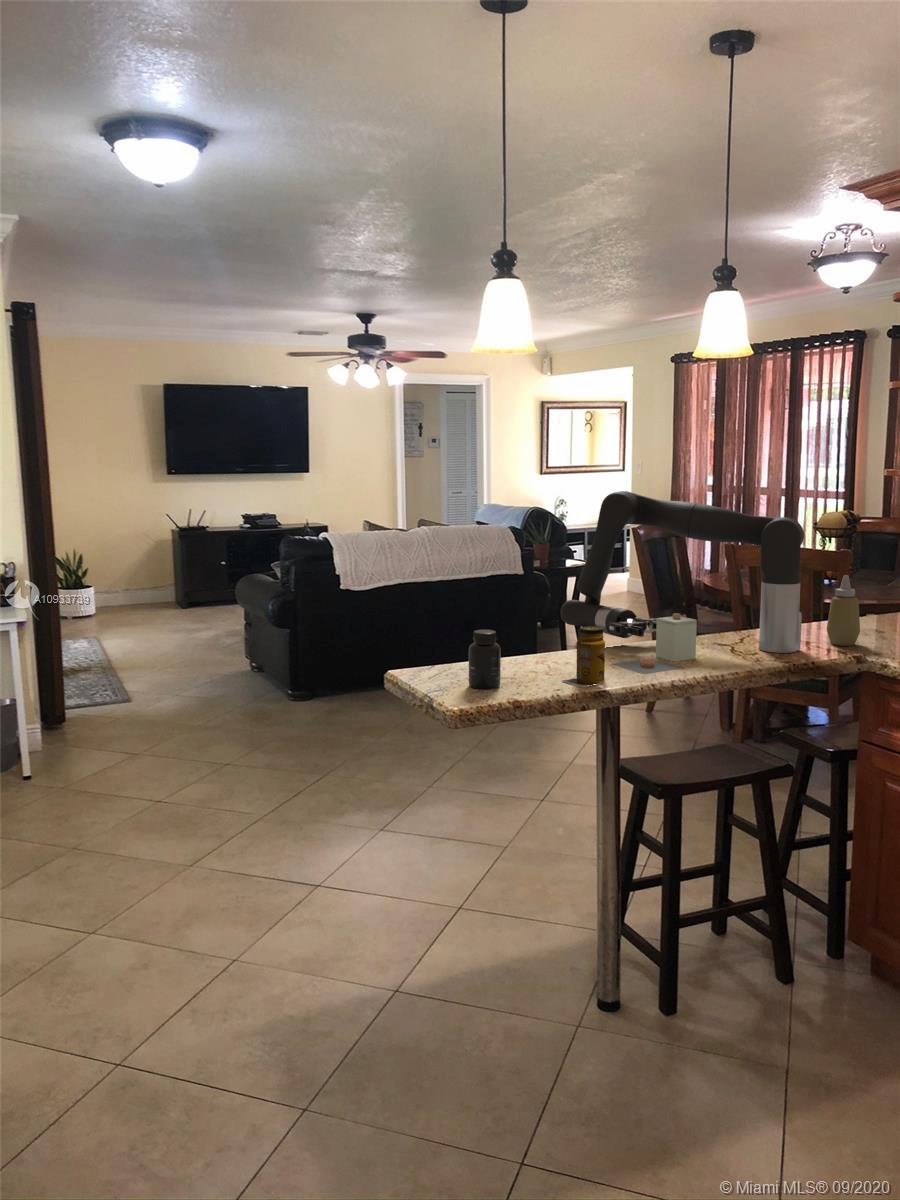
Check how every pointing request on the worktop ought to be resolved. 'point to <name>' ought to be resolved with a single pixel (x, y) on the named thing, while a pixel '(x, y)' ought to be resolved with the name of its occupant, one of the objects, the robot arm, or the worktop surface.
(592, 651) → the condiment
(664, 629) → the lidded square canister
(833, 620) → the squeeze bottle
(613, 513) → the robot arm
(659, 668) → the mat
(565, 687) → the worktop surface
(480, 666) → the supplement bottle
